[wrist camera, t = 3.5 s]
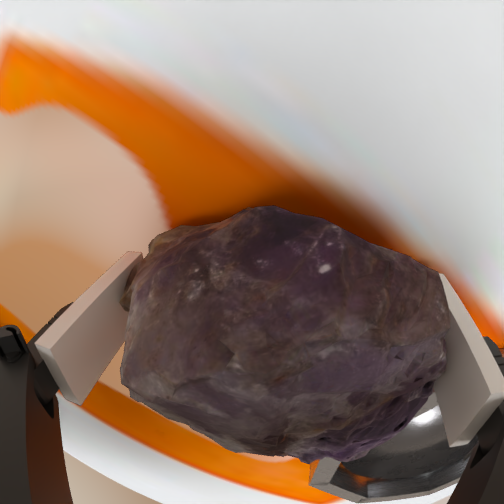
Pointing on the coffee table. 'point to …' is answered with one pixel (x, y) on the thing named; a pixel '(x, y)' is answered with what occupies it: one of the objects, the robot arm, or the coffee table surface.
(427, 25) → the coffee table surface
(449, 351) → the robot arm
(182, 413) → the rock
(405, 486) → the collar
